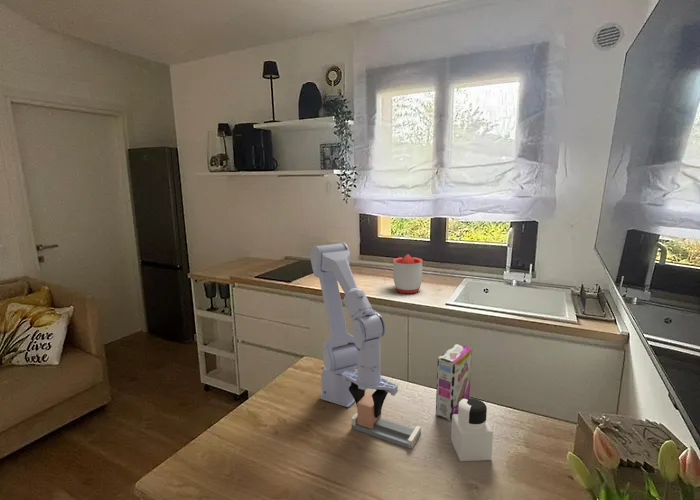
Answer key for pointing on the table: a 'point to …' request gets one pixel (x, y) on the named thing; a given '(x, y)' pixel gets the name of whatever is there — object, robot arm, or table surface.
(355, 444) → the table surface
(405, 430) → the rail
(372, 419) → the pink rectangular block
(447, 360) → the candy bar box
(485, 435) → the medicine bottle
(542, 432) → the table surface
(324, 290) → the robot arm
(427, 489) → the table surface
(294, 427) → the table surface
